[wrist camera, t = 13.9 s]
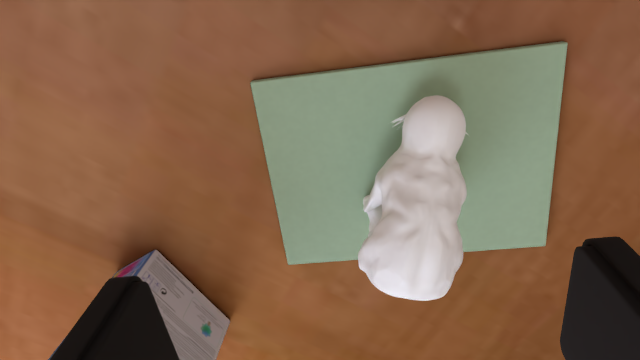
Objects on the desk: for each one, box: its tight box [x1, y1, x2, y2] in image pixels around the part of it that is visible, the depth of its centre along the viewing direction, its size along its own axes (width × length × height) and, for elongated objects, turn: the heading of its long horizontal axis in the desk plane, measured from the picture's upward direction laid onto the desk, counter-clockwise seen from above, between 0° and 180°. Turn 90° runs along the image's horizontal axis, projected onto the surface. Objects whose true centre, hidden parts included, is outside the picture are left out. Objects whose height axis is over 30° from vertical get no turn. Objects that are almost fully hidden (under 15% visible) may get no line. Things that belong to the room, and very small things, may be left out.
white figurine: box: [358, 95, 468, 301], centre depth 27 cm, size 6×8×12 cm
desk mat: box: [250, 41, 567, 265], centre depth 31 cm, size 20×15×1 cm
